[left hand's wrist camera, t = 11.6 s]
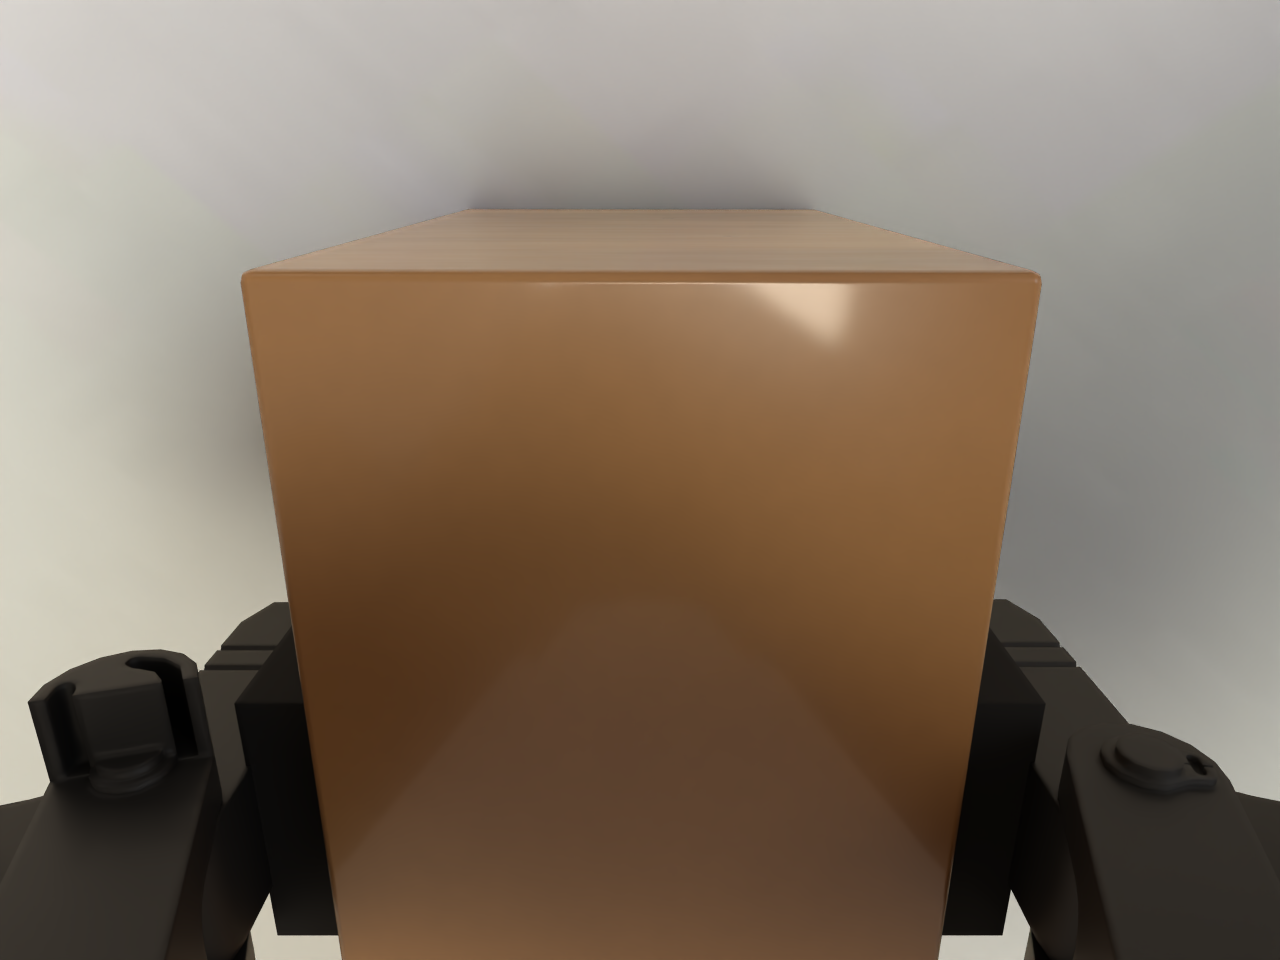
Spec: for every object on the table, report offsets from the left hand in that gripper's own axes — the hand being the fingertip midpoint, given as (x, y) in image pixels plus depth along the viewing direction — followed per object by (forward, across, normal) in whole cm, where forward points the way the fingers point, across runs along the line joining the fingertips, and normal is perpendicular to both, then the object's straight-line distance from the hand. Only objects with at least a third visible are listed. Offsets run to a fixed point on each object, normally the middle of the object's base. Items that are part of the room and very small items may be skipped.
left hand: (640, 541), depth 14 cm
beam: (+1, 0, -32) cm, 32 cm away
